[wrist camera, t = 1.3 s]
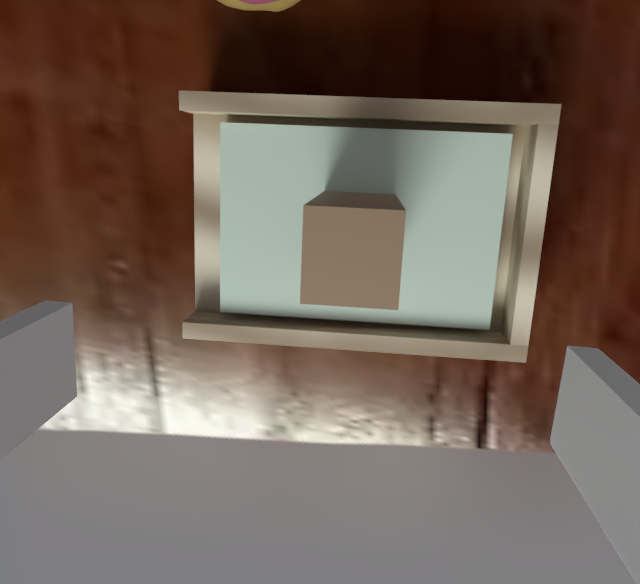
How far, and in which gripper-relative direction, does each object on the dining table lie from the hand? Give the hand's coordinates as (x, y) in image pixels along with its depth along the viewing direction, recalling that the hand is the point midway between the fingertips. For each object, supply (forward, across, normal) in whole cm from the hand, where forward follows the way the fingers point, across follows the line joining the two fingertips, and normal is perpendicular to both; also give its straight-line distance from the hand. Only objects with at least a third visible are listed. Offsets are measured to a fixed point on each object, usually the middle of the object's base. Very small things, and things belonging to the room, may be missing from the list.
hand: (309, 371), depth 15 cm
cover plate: (+20, +1, +1) cm, 20 cm away
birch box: (+23, +1, +1) cm, 23 cm away
